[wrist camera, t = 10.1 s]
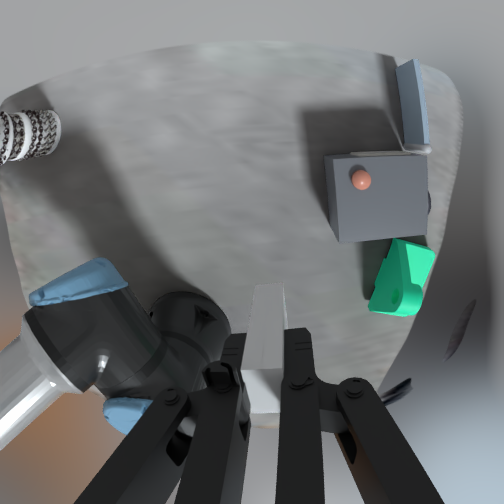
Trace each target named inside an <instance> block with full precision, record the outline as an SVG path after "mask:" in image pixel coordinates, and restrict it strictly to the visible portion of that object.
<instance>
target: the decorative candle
mask: <svg viewBox="0 0 504 504" xmlns="http://www.w3.org/2000/svg"><path fill="white" fill-rule="evenodd" d="M61 131H62V129H61V121H60V119H59V116H58V114H56V113H55V112H54V111H52V110H46V111H44V112H43V110H40V111H39V112H38V111H37V110H33V111H32V112H31V110H27V111H24V110H22V111H21V112H20V113H12V114H7V113H6V112H0V165H3V164H4V163H5V162H6V161H8V160H11V161H14V160H19V161H22V159H28V158H35V157H41V156H44V155H47V154H50V153H52V152H53V151H54V150H55V149H56V147H57V145H58V143H59V141H60V137H61Z"/></svg>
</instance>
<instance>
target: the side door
mask: <svg viewBox="0 0 504 504" xmlns="http://www.w3.org/2000/svg"><path fill="white" fill-rule="evenodd" d="M395 71H396V76H397V82H398V89H399V95H400V103H401V111H402V119H403V129H404V141H405V143H404V145H403V147H404V149H405V150H409V151H415V152H421V153H427V154H429V153H430V152H431V150H432V148H431V146H430V141H429V128H428V118H427V109H426V101H425V94H424V87H423V81H422V75H421V70H420V65H419V60H417V59H412V60H410V61H408V62H406V63H405V64H403V65H401V66H399V67H397V68H395Z"/></svg>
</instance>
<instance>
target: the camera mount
mask: <svg viewBox="0 0 504 504" xmlns="http://www.w3.org/2000/svg"><path fill="white" fill-rule="evenodd" d="M434 258H435V253H434V252H433V251H432V250H431V249H430V248H429V247H426V246H422V245H419V244H415V243H411V242H408V241H404V240H401V239H397V238H393V241H392V244H391V247H390V250H389V253H388V255H387V258H384V259H383V262H382V265H381V267H380V270H379V273H378V275H377V278H376V281H375V283H374V285H375V290H374V292H373V294H372V297H371V299H370V302H369V304H368V308H369V310H370V311H373V312H378V313H384V314H390V315H397V316H403V317H406V316H408V315H415V314H416V313H417V312H418V311H419V309H420V307H421V304H422V299H423V292H422V288H423V285H424V283H425V281H426V278H427V276H428V273H429V271H430V269H431V266H432V264H433V261H434Z"/></svg>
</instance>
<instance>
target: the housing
mask: <svg viewBox="0 0 504 504" xmlns="http://www.w3.org/2000/svg"><path fill="white" fill-rule="evenodd" d="M324 165H325V174H326V184H327V195H328V207H329V220H330V227H331V228H332V230H333V232H334V234H335V236H336V238H337V240H338V242H339V244H340V243H349V242H359V241H369V240H378V239H388V238H397V237H407V236H417V235H426V234H427V221H428V214H429V212H430V209H431V198H430V194H429V192H428V173H427V156H426V155H420V154H415V153H410V152H403V151H370V152H351V153H350V154H338V155H325V156H324Z"/></svg>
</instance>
